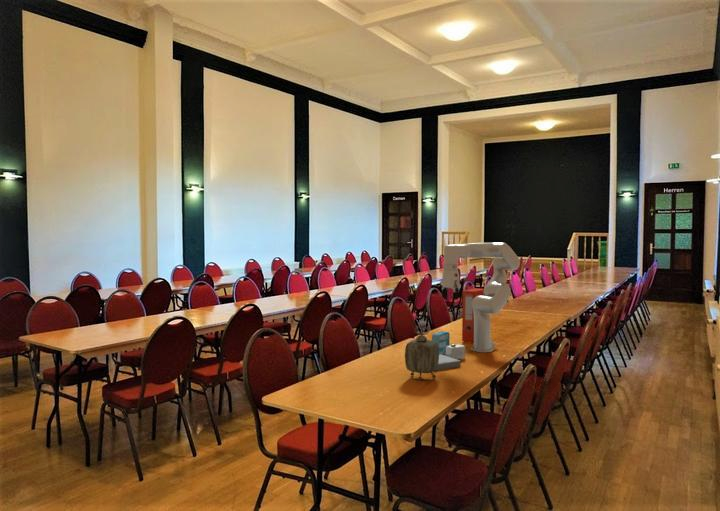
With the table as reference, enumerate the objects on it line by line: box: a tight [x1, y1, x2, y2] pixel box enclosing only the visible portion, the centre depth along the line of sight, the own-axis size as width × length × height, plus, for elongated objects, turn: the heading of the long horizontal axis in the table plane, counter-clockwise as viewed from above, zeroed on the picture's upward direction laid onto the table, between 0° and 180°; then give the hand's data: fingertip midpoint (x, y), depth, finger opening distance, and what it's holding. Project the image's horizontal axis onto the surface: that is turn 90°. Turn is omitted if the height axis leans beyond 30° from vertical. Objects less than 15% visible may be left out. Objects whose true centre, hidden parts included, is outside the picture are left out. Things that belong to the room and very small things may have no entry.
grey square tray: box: [434, 354, 461, 371], centre depth 271 cm, size 16×16×3 cm
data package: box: [431, 330, 450, 355], centre depth 295 cm, size 12×4×12 cm, turn 140°
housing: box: [445, 343, 466, 360], centre depth 284 cm, size 9×5×8 cm, turn 119°
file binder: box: [461, 287, 485, 344], centre depth 329 cm, size 8×17×32 cm, turn 142°
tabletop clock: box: [404, 325, 439, 381], centre depth 246 cm, size 14×9×25 cm, turn 66°
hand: (450, 298), depth 288 cm, fingers open, 9 cm apart
